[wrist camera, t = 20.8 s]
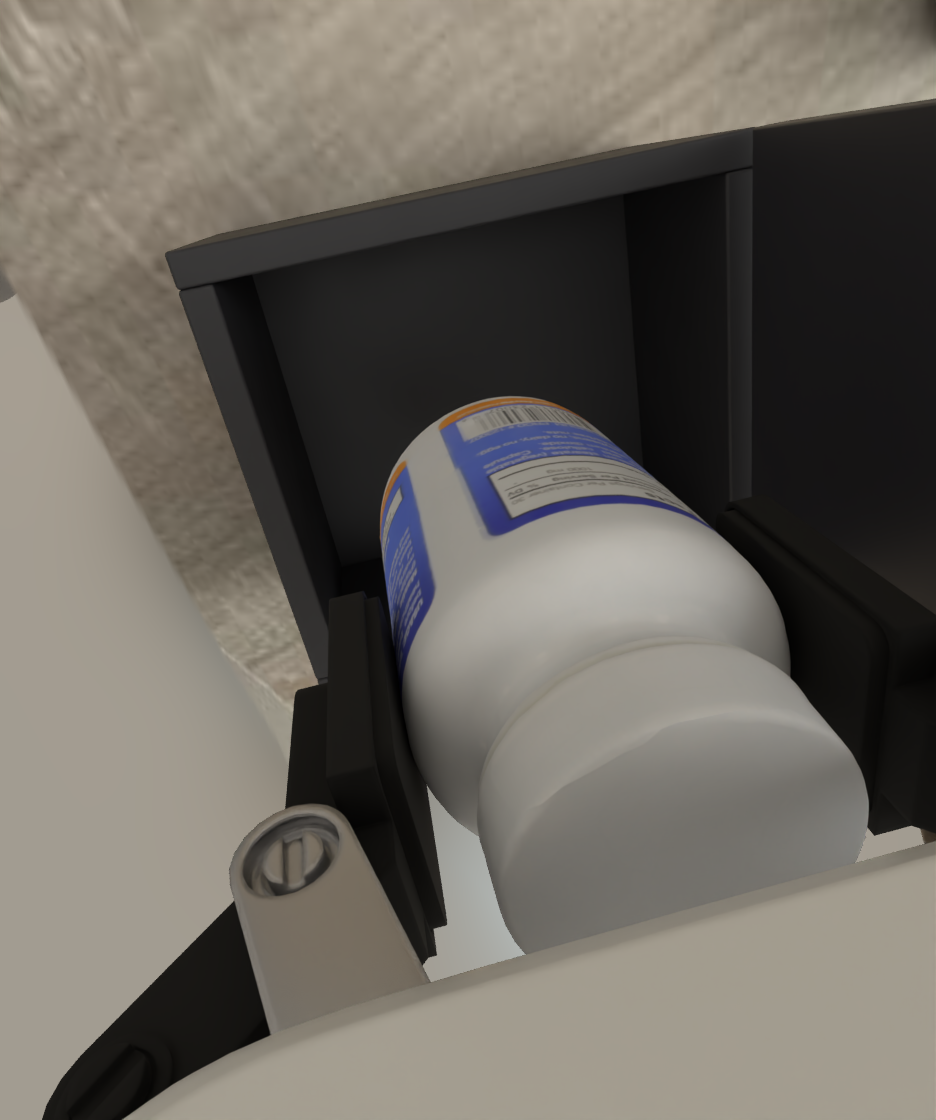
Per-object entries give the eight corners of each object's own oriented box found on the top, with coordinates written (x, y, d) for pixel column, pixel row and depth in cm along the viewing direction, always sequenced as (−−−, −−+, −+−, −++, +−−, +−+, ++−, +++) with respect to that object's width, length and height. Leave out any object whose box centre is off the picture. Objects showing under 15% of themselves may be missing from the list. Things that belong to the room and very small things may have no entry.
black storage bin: (327, 579, 28) (323, 701, 22) (216, 234, 22) (163, 252, 16) (657, 499, 29) (755, 593, 22) (634, 145, 23) (759, 126, 16)
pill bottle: (497, 655, 18) (648, 1089, 9) (324, 522, 15) (309, 933, 7) (665, 499, 16) (1022, 830, 8) (506, 330, 14) (762, 538, 6)
